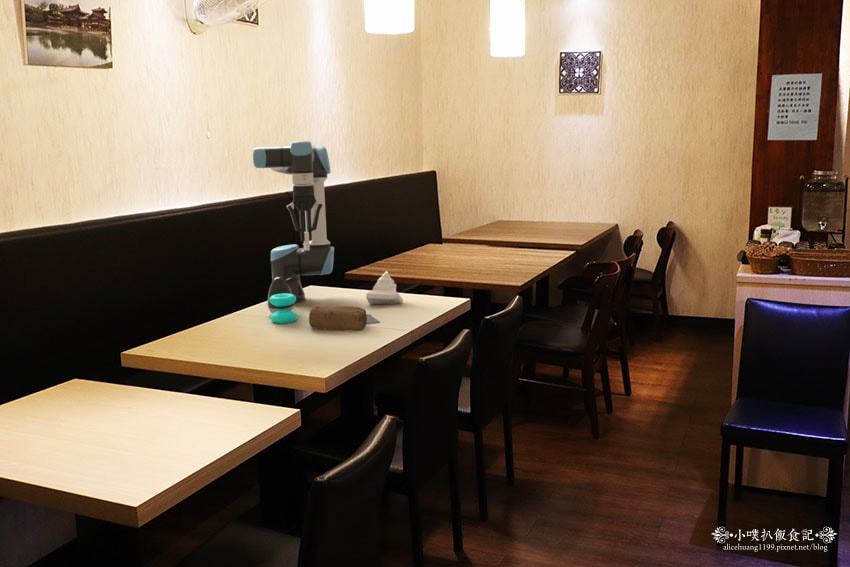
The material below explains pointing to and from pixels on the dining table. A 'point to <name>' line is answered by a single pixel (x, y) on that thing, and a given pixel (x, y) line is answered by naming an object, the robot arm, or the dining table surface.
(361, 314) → the block
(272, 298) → the donuts
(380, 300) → the soft serve ice cream
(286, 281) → the dark grey tapered piece
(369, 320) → the mat
